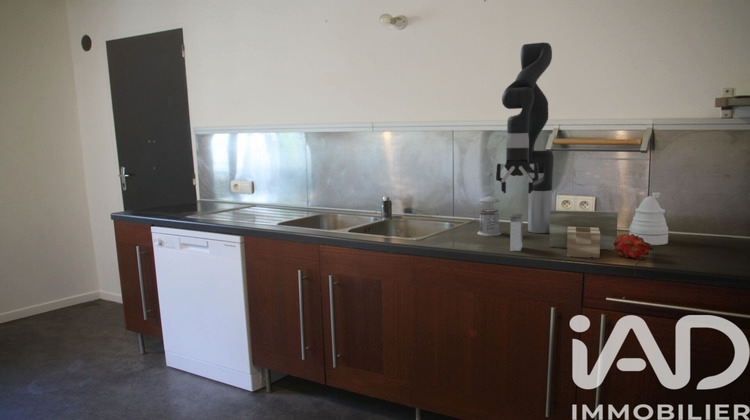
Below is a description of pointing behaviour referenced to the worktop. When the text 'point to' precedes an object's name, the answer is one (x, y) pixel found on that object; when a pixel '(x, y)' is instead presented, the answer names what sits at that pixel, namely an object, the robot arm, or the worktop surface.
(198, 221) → the worktop surface
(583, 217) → the small shelf
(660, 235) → the honey pot
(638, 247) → the dragon fruit
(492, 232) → the french press
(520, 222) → the brushed steel bar
